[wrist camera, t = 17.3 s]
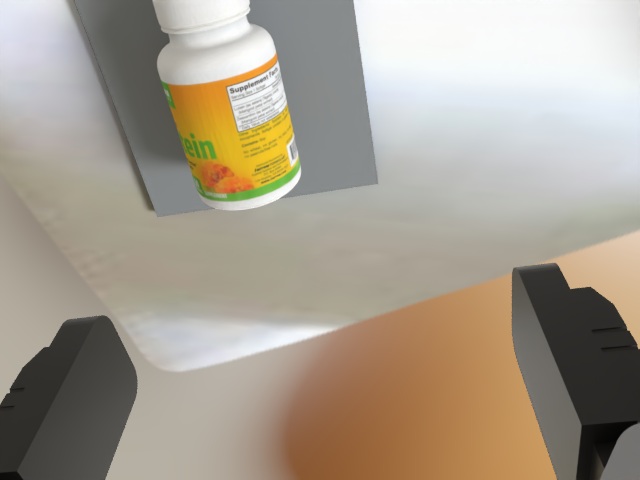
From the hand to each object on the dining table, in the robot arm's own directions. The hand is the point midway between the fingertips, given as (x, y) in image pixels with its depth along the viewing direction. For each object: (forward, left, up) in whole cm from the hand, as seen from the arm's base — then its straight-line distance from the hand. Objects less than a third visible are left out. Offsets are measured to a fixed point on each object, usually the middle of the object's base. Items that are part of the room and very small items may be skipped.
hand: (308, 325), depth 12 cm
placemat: (+3, -3, -21) cm, 22 cm away
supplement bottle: (+8, -1, -18) cm, 19 cm away
